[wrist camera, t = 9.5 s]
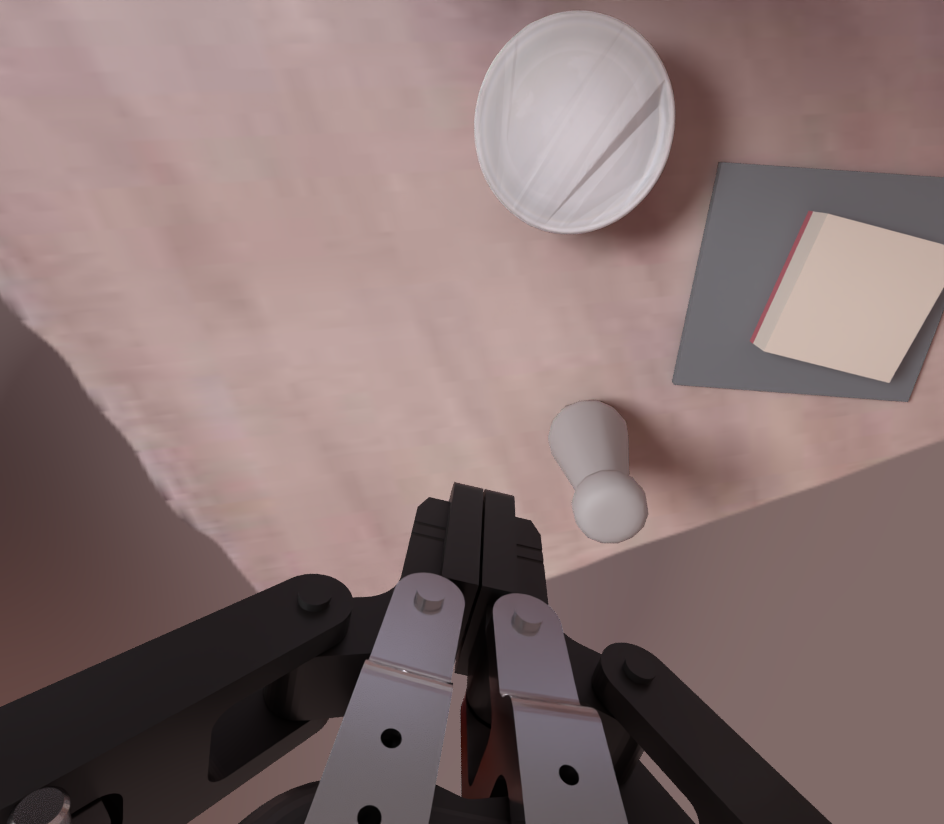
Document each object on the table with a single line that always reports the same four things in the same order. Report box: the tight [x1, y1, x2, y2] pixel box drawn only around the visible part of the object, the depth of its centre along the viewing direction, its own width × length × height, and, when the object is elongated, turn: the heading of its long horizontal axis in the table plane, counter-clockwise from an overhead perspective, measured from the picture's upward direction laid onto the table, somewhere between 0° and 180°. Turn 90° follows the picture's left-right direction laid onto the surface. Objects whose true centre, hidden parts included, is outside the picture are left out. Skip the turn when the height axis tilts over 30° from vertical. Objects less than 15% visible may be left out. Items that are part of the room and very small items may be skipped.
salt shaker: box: [548, 400, 648, 543], centre depth 39 cm, size 6×6×13 cm
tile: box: [750, 211, 944, 383], centre depth 38 cm, size 2×9×9 cm
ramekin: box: [474, 10, 675, 234], centre depth 34 cm, size 11×11×5 cm
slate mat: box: [672, 162, 944, 402], centre depth 40 cm, size 15×17×1 cm
